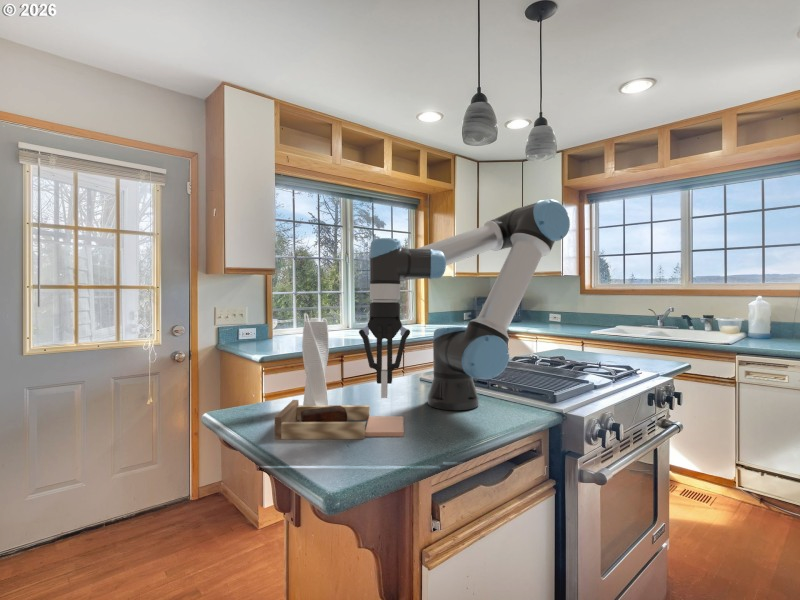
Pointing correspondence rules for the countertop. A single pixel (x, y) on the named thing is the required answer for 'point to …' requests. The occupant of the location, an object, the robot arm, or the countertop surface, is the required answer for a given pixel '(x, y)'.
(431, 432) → the countertop surface
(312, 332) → the skyscraper
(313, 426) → the channel
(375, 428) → the tile
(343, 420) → the brick
